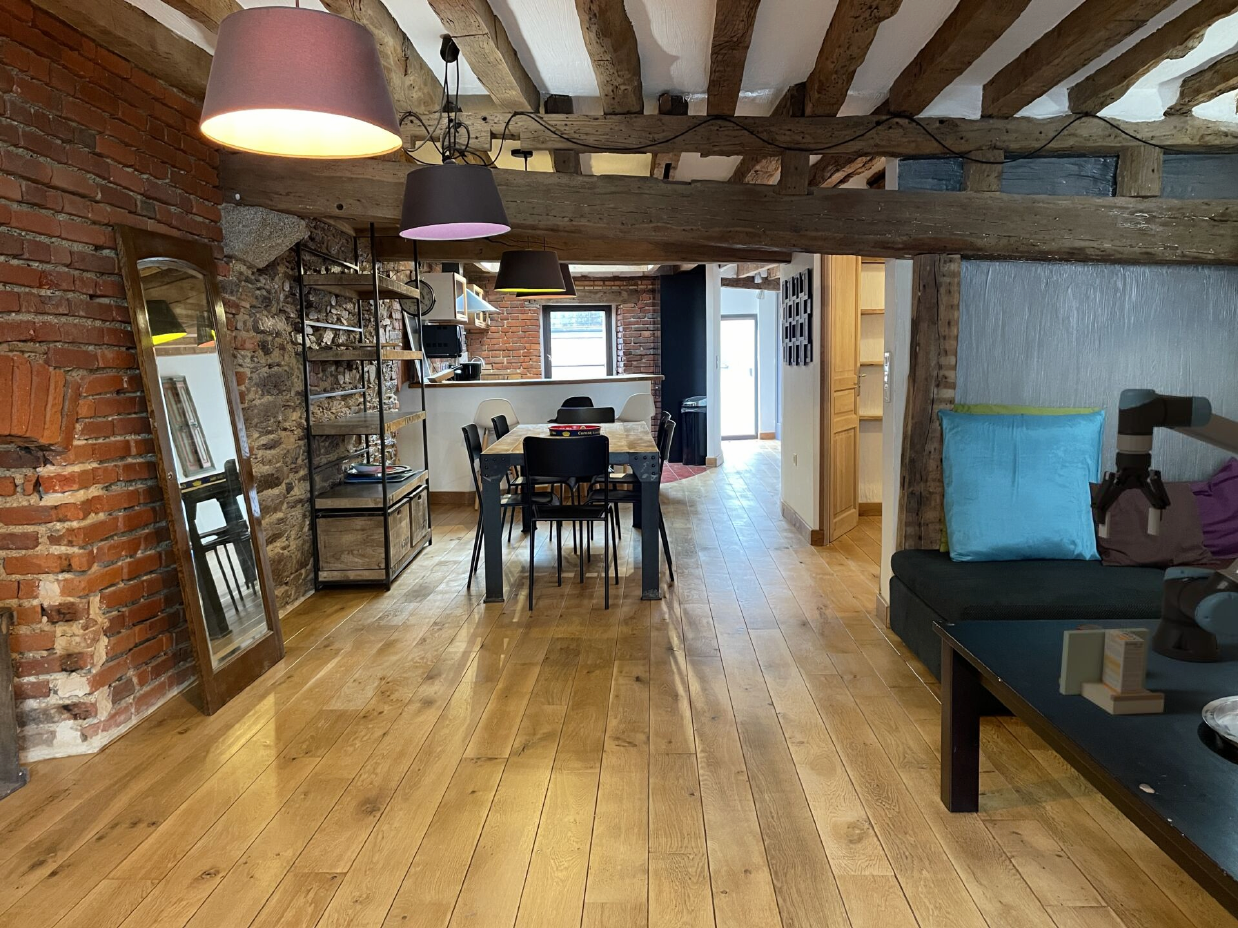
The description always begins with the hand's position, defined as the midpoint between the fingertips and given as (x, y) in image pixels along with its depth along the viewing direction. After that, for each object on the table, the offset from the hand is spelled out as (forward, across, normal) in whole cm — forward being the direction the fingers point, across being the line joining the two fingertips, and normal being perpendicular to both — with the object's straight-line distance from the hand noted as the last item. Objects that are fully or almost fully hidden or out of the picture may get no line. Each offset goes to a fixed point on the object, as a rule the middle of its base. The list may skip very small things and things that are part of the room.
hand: (1128, 535), depth 207 cm
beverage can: (+34, +11, +3) cm, 36 cm away
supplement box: (+31, +16, +20) cm, 40 cm away
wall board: (+34, +16, +17) cm, 41 cm away
